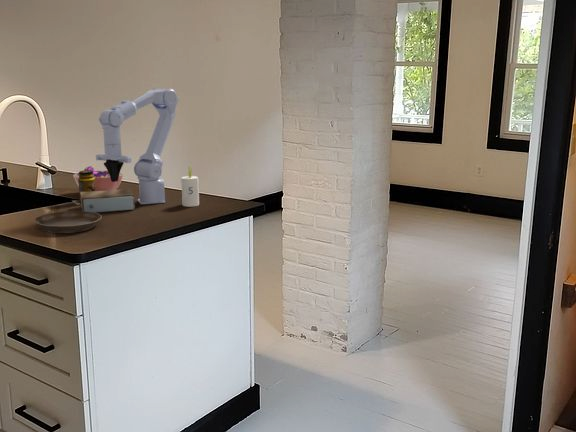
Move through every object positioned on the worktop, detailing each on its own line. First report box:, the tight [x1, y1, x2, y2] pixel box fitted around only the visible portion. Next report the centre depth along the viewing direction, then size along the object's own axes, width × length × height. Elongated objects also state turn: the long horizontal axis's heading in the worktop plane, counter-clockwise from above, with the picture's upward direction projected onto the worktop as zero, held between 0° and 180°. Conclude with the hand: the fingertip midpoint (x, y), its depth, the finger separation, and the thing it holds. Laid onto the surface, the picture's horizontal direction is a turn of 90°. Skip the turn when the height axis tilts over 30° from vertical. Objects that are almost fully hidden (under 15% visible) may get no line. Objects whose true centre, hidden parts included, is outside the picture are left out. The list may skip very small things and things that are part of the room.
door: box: [83, 196, 136, 213], centre depth 217 cm, size 18×2×5 cm, turn 111°
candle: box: [180, 164, 200, 208], centre depth 229 cm, size 6×6×15 cm
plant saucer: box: [34, 210, 103, 234], centre depth 199 cm, size 21×21×3 cm
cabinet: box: [79, 188, 136, 213], centre depth 223 cm, size 18×11×6 cm, turn 111°
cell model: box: [72, 165, 124, 191], centre depth 247 cm, size 17×20×11 cm
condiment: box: [72, 170, 96, 206], centre depth 233 cm, size 7×8×12 cm
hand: (114, 181), depth 220 cm, fingers closed
